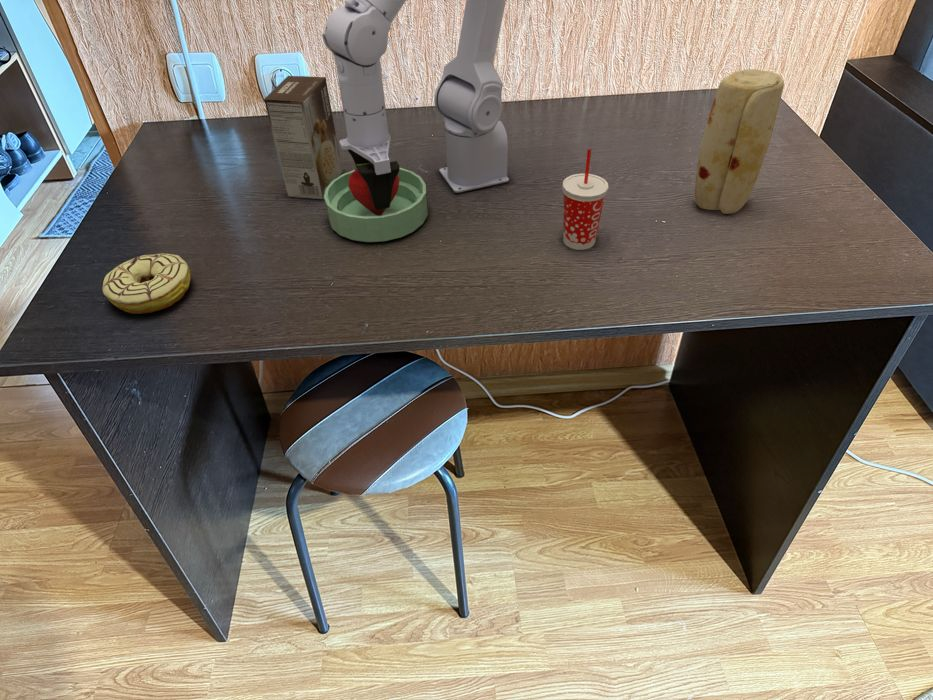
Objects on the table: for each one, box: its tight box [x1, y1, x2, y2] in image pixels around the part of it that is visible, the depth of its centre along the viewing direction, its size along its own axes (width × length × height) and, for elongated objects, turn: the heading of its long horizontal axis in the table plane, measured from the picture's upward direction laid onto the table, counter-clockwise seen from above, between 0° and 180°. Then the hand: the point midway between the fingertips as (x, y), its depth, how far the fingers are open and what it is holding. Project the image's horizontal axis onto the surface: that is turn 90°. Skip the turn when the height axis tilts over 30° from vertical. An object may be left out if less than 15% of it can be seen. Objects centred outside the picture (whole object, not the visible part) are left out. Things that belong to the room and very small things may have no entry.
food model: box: [694, 68, 785, 215], centre depth 92 cm, size 10×7×20 cm
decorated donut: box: [102, 253, 192, 315], centre depth 85 cm, size 10×11×4 cm
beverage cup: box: [562, 148, 609, 251], centre depth 89 cm, size 6×6×14 cm
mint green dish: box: [323, 167, 429, 243], centre depth 98 cm, size 15×15×4 cm
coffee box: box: [263, 75, 343, 200], centre depth 101 cm, size 9×6×16 cm
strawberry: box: [348, 162, 400, 215], centre depth 95 cm, size 6×8×10 cm
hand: (376, 196), depth 97 cm, fingers open, 6 cm apart
